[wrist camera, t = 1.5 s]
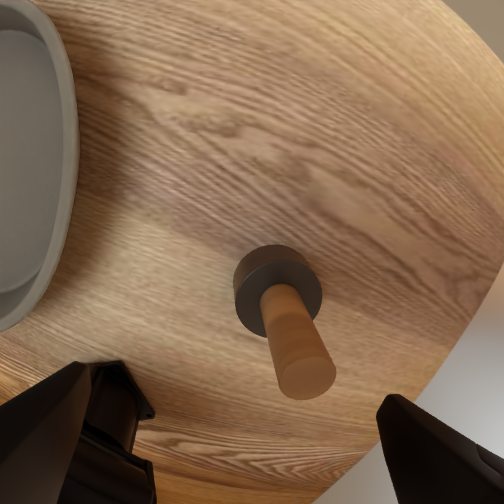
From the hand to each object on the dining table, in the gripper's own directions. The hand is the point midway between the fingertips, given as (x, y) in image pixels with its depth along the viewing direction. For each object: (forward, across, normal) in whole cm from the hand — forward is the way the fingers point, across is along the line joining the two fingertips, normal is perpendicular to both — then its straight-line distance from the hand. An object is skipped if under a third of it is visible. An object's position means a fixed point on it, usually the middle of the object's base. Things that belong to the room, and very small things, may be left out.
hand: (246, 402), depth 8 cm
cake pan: (+13, +21, -4) cm, 25 cm away
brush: (+13, -3, +2) cm, 14 cm away
